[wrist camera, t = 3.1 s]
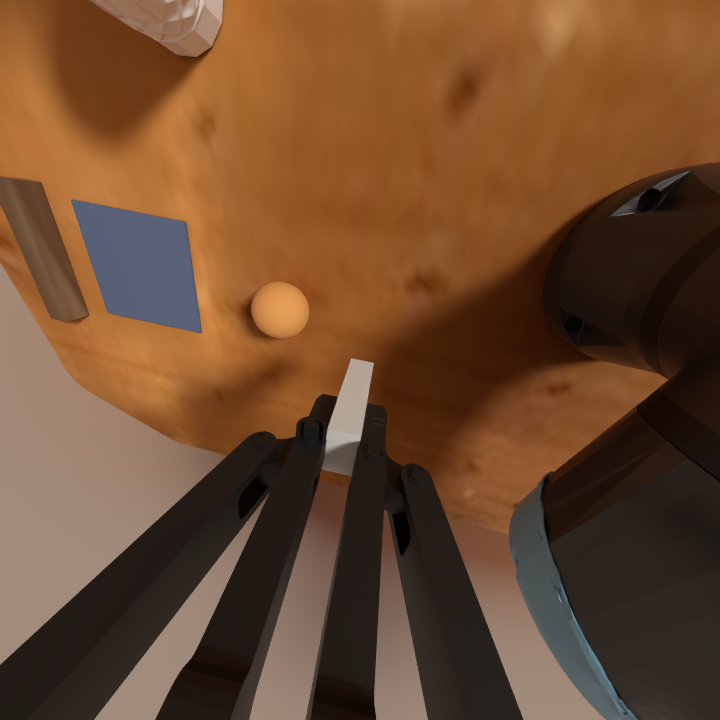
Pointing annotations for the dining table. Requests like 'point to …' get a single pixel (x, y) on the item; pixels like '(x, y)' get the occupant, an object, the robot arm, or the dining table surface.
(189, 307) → the navy mark
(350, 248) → the dining table surface
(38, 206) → the brown wooden bar
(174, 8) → the white cup
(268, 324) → the ball
